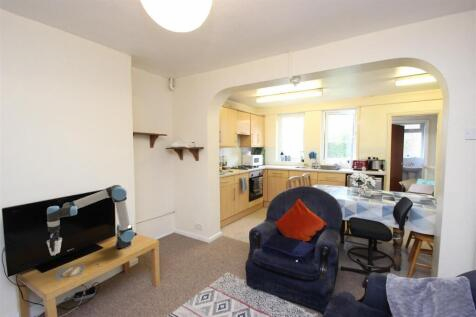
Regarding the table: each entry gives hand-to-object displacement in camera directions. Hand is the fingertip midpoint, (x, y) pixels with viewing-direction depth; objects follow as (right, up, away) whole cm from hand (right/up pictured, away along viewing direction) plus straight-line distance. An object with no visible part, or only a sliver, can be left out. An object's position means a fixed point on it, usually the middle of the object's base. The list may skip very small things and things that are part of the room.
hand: (55, 252), depth 183 cm
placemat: (+14, -15, -2) cm, 21 cm away
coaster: (+15, -15, -2) cm, 21 cm away
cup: (0, -1, 0) cm, 1 cm away
